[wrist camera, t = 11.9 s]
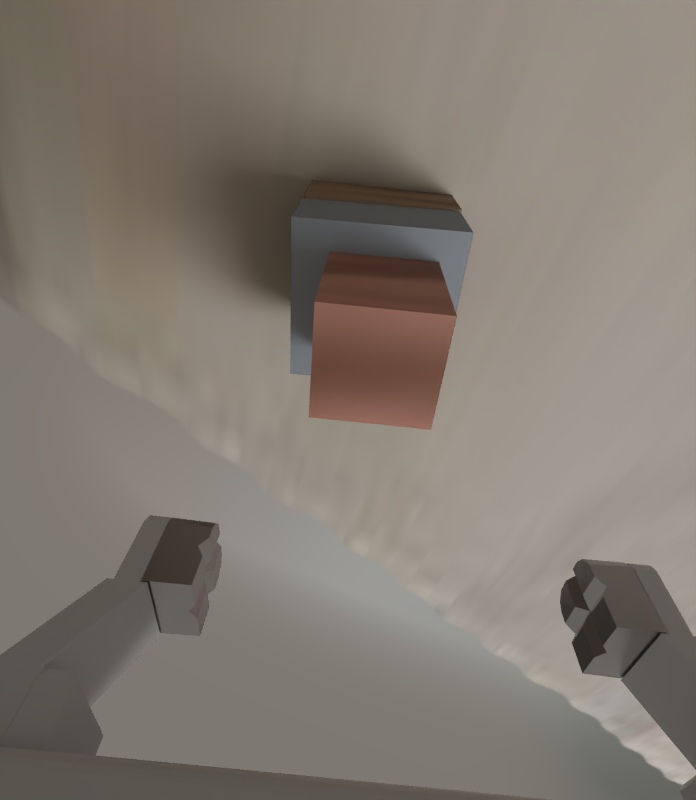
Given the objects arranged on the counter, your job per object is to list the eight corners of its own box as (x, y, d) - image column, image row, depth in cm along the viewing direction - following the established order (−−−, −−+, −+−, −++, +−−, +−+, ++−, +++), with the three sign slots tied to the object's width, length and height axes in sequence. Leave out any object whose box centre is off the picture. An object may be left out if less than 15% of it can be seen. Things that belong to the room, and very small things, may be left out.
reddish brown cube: (329, 251, 22) (314, 301, 17) (439, 262, 22) (456, 316, 17) (323, 348, 24) (309, 417, 19) (420, 358, 24) (431, 429, 19)
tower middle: (302, 197, 24) (291, 216, 21) (459, 211, 24) (473, 232, 21) (300, 339, 29) (290, 373, 25) (432, 350, 29) (440, 386, 25)
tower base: (313, 179, 27) (304, 192, 24) (451, 194, 27) (461, 210, 24) (306, 308, 32) (299, 335, 28) (425, 321, 32) (431, 349, 29)
